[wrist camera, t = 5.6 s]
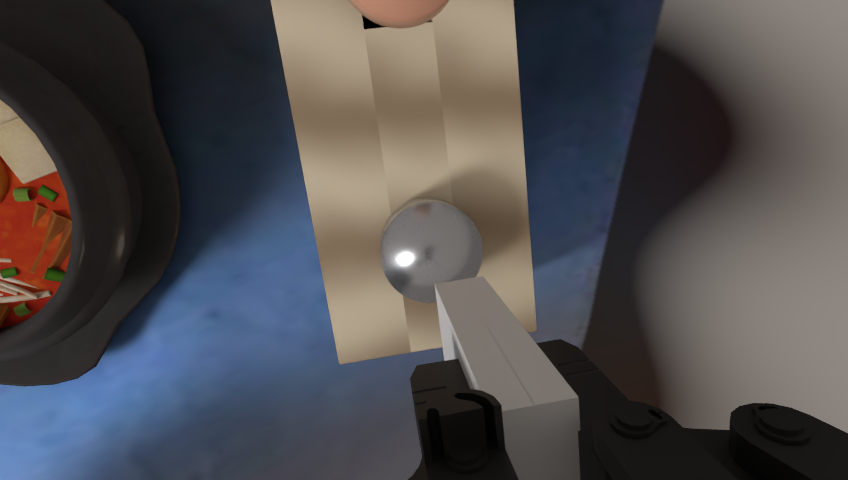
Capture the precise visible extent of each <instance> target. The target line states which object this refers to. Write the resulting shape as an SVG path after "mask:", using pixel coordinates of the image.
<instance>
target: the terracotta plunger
mask: <svg viewBox="0 0 848 480" xmlns="http://www.w3.org/2000/svg"><path fill="white" fill-rule="evenodd" d="M349 2H350V3H351V4H352V5H353V6H354V8H355V9H356V10H358V11H359V12H360V13H361V14H362V15H363V16H365V17H366V18H367V19H369V20H370V21H371V22H372V24H373V25H374V26H375V27H376V28H382V27H390V28H398V29H401V28H411V27H415V26H418V25H421V24H424V23H426V22H428V21H429V20H431V19H432V18H434V17H435V16H436V15H438V14H439V13H440V12H441V11H442V10H443V9H444V7H445V6H446V5H447V4H448V2H449V0H349Z"/></svg>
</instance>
